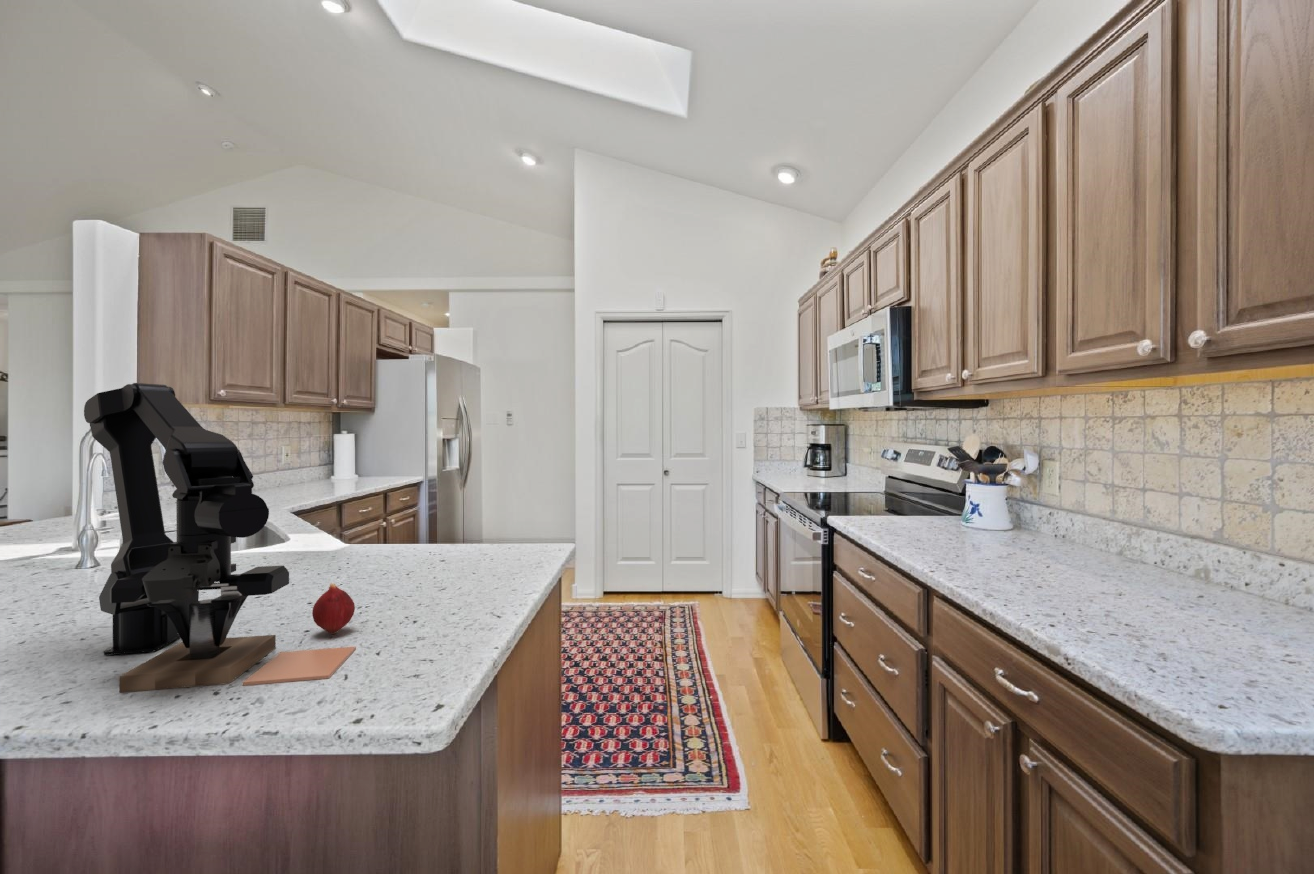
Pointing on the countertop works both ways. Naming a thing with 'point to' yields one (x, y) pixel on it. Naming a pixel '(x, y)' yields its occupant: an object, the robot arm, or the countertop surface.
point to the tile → (301, 666)
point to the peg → (202, 631)
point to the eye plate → (197, 665)
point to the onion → (333, 609)
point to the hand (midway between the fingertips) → (204, 646)
